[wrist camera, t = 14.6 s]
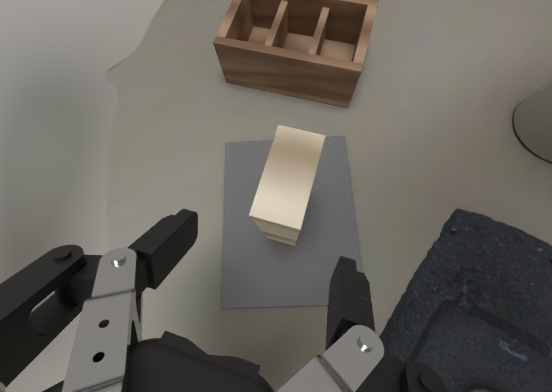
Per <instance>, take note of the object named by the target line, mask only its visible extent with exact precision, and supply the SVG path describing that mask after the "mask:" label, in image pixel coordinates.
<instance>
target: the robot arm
mask: <svg viewBox="0 0 552 392" xmlns="http://www.w3.org/2000/svg"><path fill="white" fill-rule="evenodd" d="M513 119H514V127H515V130H516V133H517V135H518V136H519V138H520V140H521V141H522V142H523V143H524V145H525V146H526V147H527V148H528V149H530V150H531V151H532V152H533V153H535V154H536V155H538V156H540V157H541V158H543V159H546V160H548V161H551V162H552V80H551V81H550V82H549V83H547V84H546V85H544V86H543V87H541V88H540V89H539V90H537V91H536V92H534V93H533V94H531V95H530V96H529V97H527V98H526V99H524V100H523V101H522V102H521V103H520V104H519V105H518V106H517V108H516V110H515V113H514V118H513ZM197 235H198V214H197V212H194V211H190V210H187V209H182V210H181V211H179V212H178V213H177V214H176V215H175V216H174V215H170V216H167V217H165V218H163V219H161V220H160V221H159V222H158V223H156V224H155V226H153V227H152V228H150V230H148V231H147V232H146V233H144V234H143V235H142V236H141V237H140V238H138V239H137V240H136V241H135V242H134V243H133V244H131V245H130V246H129V247H128V248H118V249H114V250H111V251H109V252H107V253H106V254H105V255H103V256H101V255H84V252H83V249H82V248H81V247H80V246H77V245H65V246H60V247H57V248H55V249H52V250H51V251H49V252H47V253H46V254H44V255H43V256H42V257H40V258H38V259H37V260H35V261H34V262H33V263H31V264H29V265H28V266H27V267H25V268H24V269H22V270H21V271H19V272H18V273H16V274H15V275H13V276H12V277H10V278H9V279H7V280H6V281H4V282H3V283H1V284H0V392H5V388H6V387H7V386H8V385H9V384H10V383H11V382H12V381H13V380H14V379H15V378H16V377H17V376H18V375H19V374H20V373H21V372H22V371H23V370H24V369H25V368H26V367H27V366H28V365H29V364H30V362H32V361H33V360H34V359H35V358H36V357H37V356H38V355H39V354H40V353H41V352H42V351H43V350H44V349H45V348H46V347H47V345H49V343H50V342H51V341H52V340H53V339H54V338H55V337H56V336H57V335H58V334H59V333H60V332H61V331H62V330H63V329H64V328H65V327H66V326H67V325H68V324H69V323H70V322H71V321H72V320H73V319H74V318H75V317H76V316H77V315H78V314H79V313H80V312H81V311H82V312H81V316H80V320H79V324H78V328H77V332H76V337H75V341H74V345H73V349H72V352H71V357H70V360H69V364H68V368H67V373H66V377H65V380H64V381H61V382H60V383H58V384H56V385H54V386H52V387H50V388H48V389H46V390H45V391H43V392H274V390H273V389H272V387H271V386H270V385H269V383H268V382H267V381H266V380H265V379H264V378H263V377H262V376H260V375H259V374H258V372H259V368H260V366H259V365H257V364H254V363H251V362H248V361H246V360H243V359H240V358H238V357H231V356H216V355H208V354H206V353H205V352H204V351H202V350H201V349H200V348H199V347H197V346H196V345H195V344H193V343H192V342H191V341H190V340H188V339H186V338H183V337H181V336H178V335H175V334H173V333H170V332H167V331H165V332H164V334H163V335H162V337H161V338H154V339H147V340H143V341H142V307H143V291H144V290H145V289H146V288H147V287H149V288H152V289H155V290H156V288H157V287H158V286H159V285H160V284H161V282H162V281H163V280H164V279H165V278H166V277H167V275H168V274H169V273H170V272H171V271H172V269H173V268H174V267H175V266H176V265H177V264H178V262H179V261H180V260H181V259H182V258H183V256H184V255H185V254H186V253H187V252H188V250H189V249H190V248H191V247H192V246H193V244H194V243H195V241H196V239H197ZM53 291H55V293H54V294H53V295H52V296H51V297H50V298H48V299H47V300H46V301H45V302H44V303H42V304H41V305H40V306H39V307H38V308H36V309H35V310H34V311H33V312H32V313H31V311H32V309H33V308H34V307H35V306H36V305H37V304H38V303H40V302H41V301H42V300H43V299H44V298H46V297H47V296H48V295H49V294H50V293H51V292H53ZM30 313H31V314H30ZM325 350H327V351H326V352H325V353H323V354H322V355H321V356H319V355H317V356H316V357H314V358H313V359H312V360H311V361H310V362H309V363H307V364H306V365H305V366H304V367H303V368H302V369H301V370H300V371H299V372H298V373H297V374H295V375H294V376H293V377H292V378H291V379H290V380H289V381H288V382H287V383H286V384H284V385H283V386H282V387H281V388H280V389H279V390H278V391H277V392H448V390H447V388H446V385H445V383H444V382H443V380H442V379H441V378H440V376H439V375H438V374H437V373H436V372H435V371H434V370H433V369H432V368H430V367H429V366H427V365H426V364H423V363H421V362H411V363H410V364H409V365H407V364H406V363H404V362H403V361H401V360H400V359H398V358H397V357H395V356H394V355H392V354H391V353H390V352H388V351H387V350H386V349H385V348H384V347H383V343H382V341H381V339H380V338H379V336H378V335H377V334H376V333H375V327H374V319H373V311H372V303H371V295H370V287H369V282H368V280H367V278H366V276H365V274H364V273H362V272H358V271H357V269H356V260H354V259H350V258H347V257H344V256H340V258H339V260H338V262H337V265H336V267H335V269H334V272H333V274H332V277H331V280H330V285H329V299H328V316H327V333H326V349H325Z"/></svg>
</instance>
